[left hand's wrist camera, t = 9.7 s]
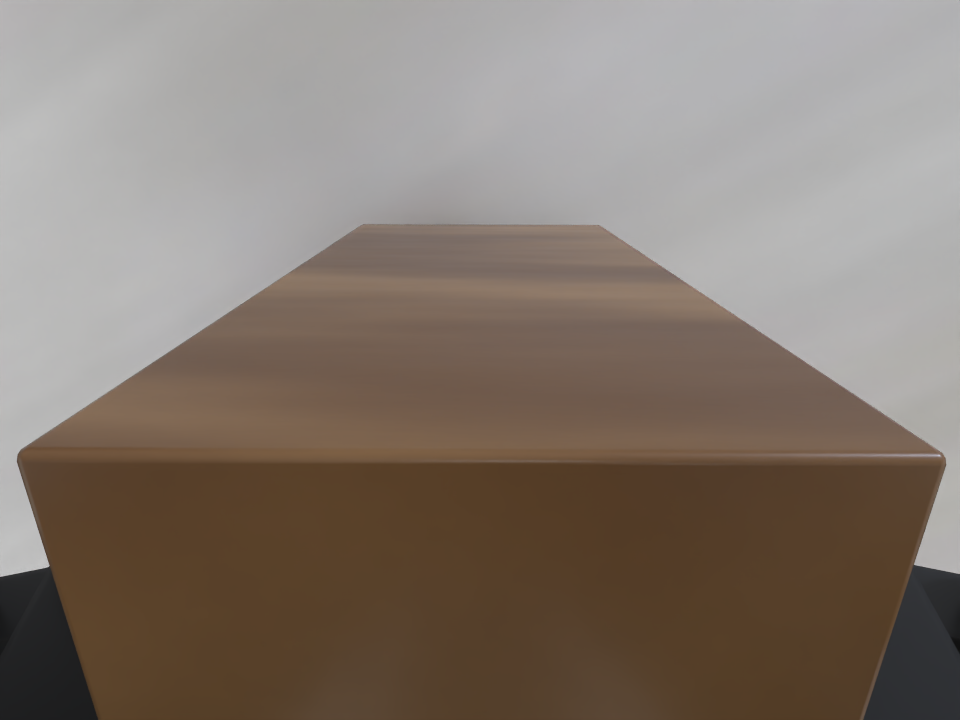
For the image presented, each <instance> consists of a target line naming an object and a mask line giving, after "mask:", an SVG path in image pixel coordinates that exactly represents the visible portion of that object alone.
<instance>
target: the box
mask: <svg viewBox="0 0 960 720" xmlns="http://www.w3.org/2000/svg"><path fill="white" fill-rule="evenodd" d="M17 463H18V467H19V470H20V473H21V476H22V479H23V482H24V486H25V489H26V492H27V495H28V498H29V501H30V505H31V508H32V511H33V514H34V517H35V521H36V524H37V527H38V530H39V533H40V536H41V540H42V543H43V546H44V549H45V552H46V555H47V559H48V562H49V565H50V568H51V571H52V574H53V578H54V581H55V584H56V587H57V590H58V594H59V597H60V600H61V603H62V606H63V609H64V613H65V616H66V619H67V622H68V625H69V628H70V632H71V635H72V638H73V641H74V644H75V648H76V651H77V654H78V657H79V660H80V663H81V667H82V670H83V673H84V676H85V679H86V682H87V686H88V689H89V692H90V695H91V698H92V701H93V705H94V708H95V711H96V714H97V717H98V720H863V719H864V716H865V713H866V710H867V706H868V703H869V700H870V697H871V694H872V691H873V688H874V685H875V682H876V679H877V676H878V673H879V670H880V667H881V663H882V660H883V657H884V654H885V651H886V648H887V645H888V642H889V639H890V636H891V633H892V630H893V627H894V624H895V620H896V617H897V614H898V611H899V608H900V605H901V602H902V599H903V596H904V593H905V590H906V587H907V584H908V581H909V577H910V574H911V571H912V568H913V565H914V562H915V559H916V556H917V553H918V550H919V547H920V544H921V541H922V538H923V534H924V531H925V528H926V525H927V522H928V519H929V516H930V513H931V510H932V507H933V504H934V501H935V498H936V495H937V491H938V488H939V485H940V482H941V479H942V476H943V473H944V470H945V467H946V459H945V457H944V455H943V454H942V453H941V452H940V451H938V450H937V449H935V448H934V447H932V446H931V445H929V444H928V443H926V442H925V441H923V440H922V439H920V438H919V437H917V436H916V435H914V434H913V433H911V432H910V431H908V430H907V429H905V428H904V427H902V426H901V425H899V424H898V423H896V422H895V421H893V420H892V419H890V418H889V417H887V416H886V415H884V414H883V413H881V412H880V411H878V410H877V409H875V408H874V407H872V406H871V405H869V404H868V403H866V402H865V401H863V400H862V399H860V398H859V397H857V396H856V395H854V394H853V393H851V392H850V391H848V390H847V389H845V388H844V387H842V386H841V385H839V384H838V383H836V382H835V381H833V380H832V379H830V378H829V377H827V376H826V375H824V374H823V373H821V372H820V371H818V370H816V369H815V368H813V367H812V366H810V365H809V364H807V363H806V362H804V361H803V360H801V359H800V358H798V357H797V356H795V355H794V354H792V353H791V352H789V351H788V350H786V349H785V348H783V347H782V346H780V345H779V344H777V343H776V342H774V341H773V340H771V339H770V338H768V337H767V336H765V335H764V334H762V333H761V332H759V331H758V330H756V329H755V328H753V327H752V326H750V325H749V324H747V323H746V322H744V321H743V320H741V319H740V318H738V317H737V316H735V315H734V314H732V313H731V312H729V311H728V310H726V309H725V308H723V307H722V306H720V305H719V304H717V303H716V302H714V301H713V300H711V299H710V298H708V297H707V296H705V295H704V294H702V293H701V292H699V291H698V290H696V289H695V288H693V287H692V286H690V285H689V284H687V283H686V282H684V281H683V280H681V279H680V278H678V277H677V276H675V275H674V274H672V273H671V272H669V271H668V270H666V269H665V268H663V267H662V266H660V265H659V264H657V263H656V262H654V261H653V260H651V259H649V258H648V257H646V256H645V255H643V254H642V253H640V252H639V251H637V250H636V249H634V248H633V247H631V246H630V245H628V244H627V243H625V242H624V241H622V240H621V239H619V238H618V237H616V236H615V235H613V234H612V233H610V232H609V231H607V230H606V229H604V228H603V227H601V226H599V225H407V224H363V225H361V226H359V227H358V228H356V229H355V230H353V231H352V232H350V233H349V234H347V235H346V236H344V237H343V238H341V239H340V240H338V241H337V242H335V243H334V244H332V245H331V246H329V247H328V248H326V249H325V250H323V251H321V252H320V253H318V254H317V255H315V256H314V257H312V258H311V259H309V260H308V261H306V262H305V263H303V264H302V265H300V266H299V267H297V268H296V269H294V270H293V271H291V272H290V273H288V274H287V275H285V276H284V277H282V278H281V279H279V280H277V281H276V282H274V283H273V284H271V285H270V286H268V287H267V288H265V289H264V290H262V291H261V292H259V293H258V294H256V295H255V296H253V297H252V298H250V299H249V300H247V301H246V302H244V303H243V304H241V305H240V306H238V307H237V308H235V309H234V310H232V311H230V312H229V313H227V314H226V315H224V316H223V317H221V318H220V319H218V320H217V321H215V322H214V323H212V324H211V325H209V326H208V327H206V328H205V329H203V330H202V331H200V332H199V333H197V334H196V335H194V336H193V337H191V338H190V339H188V340H186V341H185V342H183V343H182V344H180V345H179V346H177V347H176V348H174V349H173V350H171V351H170V352H168V353H167V354H165V355H164V356H162V357H161V358H159V359H158V360H156V361H155V362H153V363H152V364H150V365H149V366H147V367H146V368H144V369H142V370H141V371H139V372H138V373H136V374H135V375H133V376H132V377H130V378H129V379H127V380H126V381H124V382H123V383H121V384H120V385H118V386H117V387H115V388H114V389H112V390H111V391H109V392H108V393H106V394H105V395H103V396H102V397H100V398H99V399H97V400H95V401H94V402H92V403H91V404H89V405H88V406H86V407H85V408H83V409H82V410H80V411H79V412H77V413H76V414H74V415H73V416H71V417H70V418H68V419H67V420H65V421H64V422H62V423H61V424H59V425H58V426H56V427H55V428H53V429H51V430H50V431H48V432H47V433H45V434H44V435H42V436H41V437H39V438H38V439H36V440H35V441H33V442H32V443H30V444H29V445H27V446H26V447H24V448H23V449H21V450H20V452H19V453H18V457H17Z"/></svg>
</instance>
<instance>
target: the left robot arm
mask: <svg viewBox="0 0 960 720" xmlns="http://www.w3.org/2000/svg"><path fill="white" fill-rule="evenodd" d="M0 720H98V717H97V714H96V711H95V708H94V705H93V701H92V698H91V695H90V692H89V689H88V686H87V682H86V679H85V676H84V673H83V670H82V667H81V663H80V660H79V657H78V654H77V651H76V648H75V644H74V641H73V638H72V635H71V632H70V628H69V625H68V622H67V619H66V616H65V613H64V609H63V606H62V603H61V600H60V597H59V594H58V590H57V587H56V584H55V581H54V578H53V574H52V571H51V568H50V566H49V567H47V568H43V569H38V570H33V571H28V572H23V573H18V574H13V575H8V576H3V577H0ZM863 720H960V574H956V573H951V572H946V571H941V570H936V569H931V568H926V567H921V566H916V565H913V568H912V571H911V574H910V577H909V581H908V584H907V587H906V590H905V593H904V596H903V599H902V602H901V605H900V608H899V611H898V614H897V617H896V620H895V624H894V627H893V630H892V633H891V636H890V639H889V642H888V645H887V648H886V651H885V654H884V657H883V660H882V663H881V667H880V670H879V673H878V676H877V679H876V682H875V685H874V688H873V691H872V694H871V697H870V700H869V703H868V706H867V710H866V713H865V716H864V719H863Z"/></svg>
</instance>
